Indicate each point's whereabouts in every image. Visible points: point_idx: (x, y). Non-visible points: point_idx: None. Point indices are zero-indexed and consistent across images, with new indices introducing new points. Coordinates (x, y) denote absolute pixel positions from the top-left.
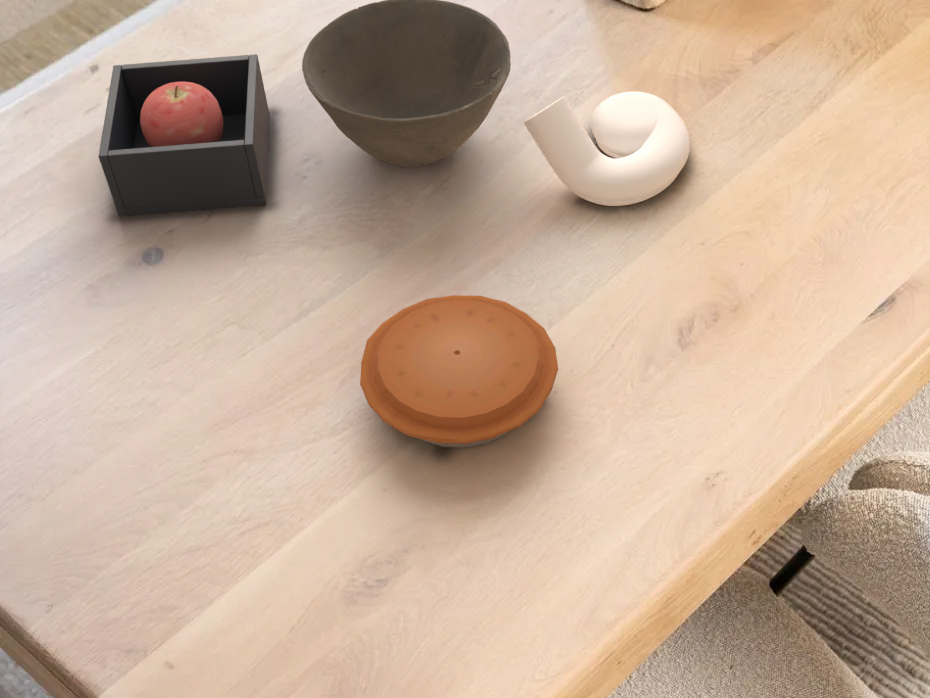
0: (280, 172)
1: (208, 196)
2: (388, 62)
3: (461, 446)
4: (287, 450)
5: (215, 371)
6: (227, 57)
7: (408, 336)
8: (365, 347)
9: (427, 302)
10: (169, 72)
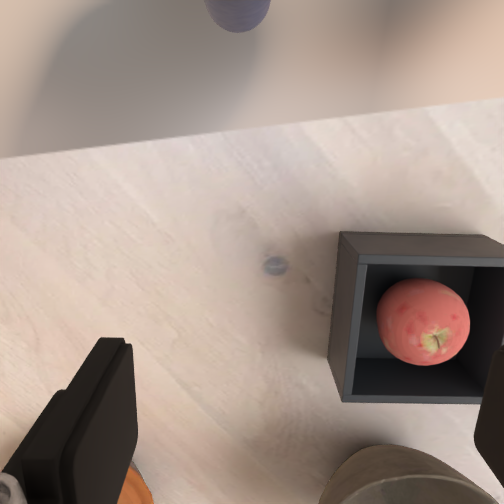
0: None
1: (334, 321)
2: (456, 496)
3: None
4: (39, 374)
5: (124, 322)
6: None
7: None
8: None
9: (145, 496)
10: (502, 314)
